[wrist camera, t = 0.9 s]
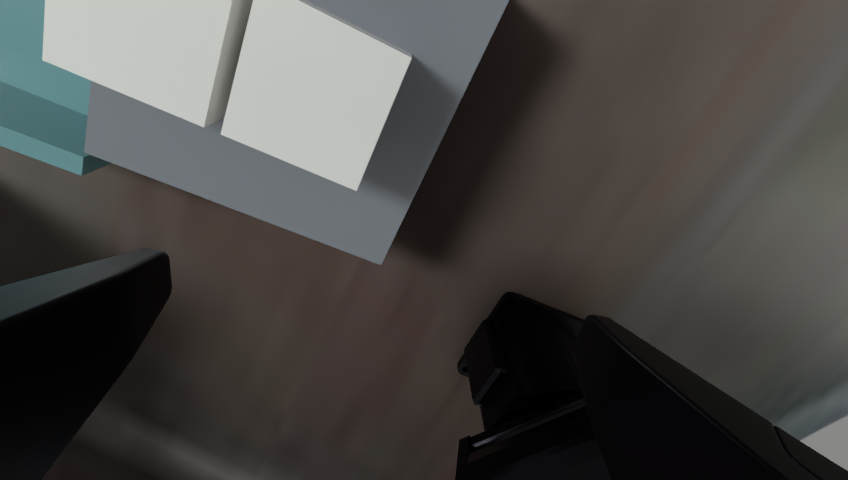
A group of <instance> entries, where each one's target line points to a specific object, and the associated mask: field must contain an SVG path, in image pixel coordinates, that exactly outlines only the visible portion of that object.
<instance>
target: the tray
mask: <svg viewBox="0 0 848 480" xmlns="http://www.w3.org/2000/svg"><path fill="white" fill-rule="evenodd" d="M44 12H45V0H0V146H2V147H5V148H8V149H10V150H13V151H16V152H18V153H21V154H24V155H27V156H29V157H32V158H35V159H37V160H40V161H43V162H46V163H48V164H51V165H54V166H56V167H59V168H62V169H65V170H67V171H70V172H73V173H75V174H78V175H81V176H82V175H85V174H87V173H89V172H92V171H94V170H96V169H99V168H101V167H103V166H106V165H108V164H110V163H111V162H108V161H105V160H103V159H100V158H97V157H95V156H92V155H90V154H87V153H84V147H85V137H86V127H87V117H88V107H89V97H90V87H91V80H88V79H86V78H84V77H81V76H79V75H76V74H74V73H72V72H69V71H67V70H64V69H62V68H60V67H57V66H55V65H52V64H50V63H48V62H45V61H43V60H42V53H43V32H44Z"/></svg>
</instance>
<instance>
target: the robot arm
mask: <svg viewBox="0 0 848 480" xmlns="http://www.w3.org/2000/svg"><path fill="white" fill-rule="evenodd" d="M171 290H172V282H171V271H170V261H169V256H168V254H167V253H166V252H164V251H160V250H153V249H147V248H146V249H139V250H135V251H132V252H128V253H124V254H120V255H116V256H113V257H109V258H105V259H101V260H98V261H94V262H90V263H86V264H82V265H79V266H75V267H71V268H67V269H64V270H60V271H56V272H52V273H48V274H45V275H41V276H37V277H33V278H30V279H26V280H22V281H18V282H14V283H11V284H7V285H3V286H0V480H41V479H42V478H43V476H44V475H45V474H46V472H47V471H48V470H49V469H50V467H51V466H52V465H53V463H54V462H55V461H56V459H57V458H58V457H59V455H60V454H61V453H62V451H63V450H64V449H65V447H66V446H67V445H68V443H69V442H70V441H71V439H72V438H73V437H74V436H75V434H76V433H77V432H78V430H79V429H80V428H81V426H82V425H83V424H84V422H85V421H86V420H87V418H88V417H89V416H90V414H91V413H92V412H93V410H94V409H95V408H96V406H97V405H98V404H99V403H100V401H101V400H102V399H103V397H104V396H105V395H106V393H107V392H108V391H109V389H110V388H111V387H112V385H113V384H114V383H115V381H116V380H117V379H118V377H119V376H120V375H121V373H122V372H123V371H124V369H125V368H126V367H127V365H128V364H129V363H130V361H131V360H132V358H133V357H134V355H135V354H136V352H137V350H138V349H139V347H140V346H141V344H142V342H143V341H144V339H145V337H146V336H147V334H148V332H149V330H150V329H151V327H152V325H153V324H154V322H155V320H156V319H157V317H158V315H159V314H160V312H161V310H162V309H163V307H164V305H165V304H166V302H167V300H168V299H169V297H170V294H171ZM508 300H513V301H512V302H511V303H507V301H508ZM464 352H465V353H464V354H463V356H462V358H461V359H460V361H459V362H458V364H457V366H458V372H459V373H460V374H461V375H464V376H467V377H469V381H470V387H471V393H472V399H473V401H474V404H475V405H478V406H480V409H481V414H482V419H483V425H484V430H485V431H484V432H482V433H479V434H477V435H475V436H472V437H470V436H467V437H465V438H462V439H460V440H459V449H458V458H457V468H456V477H455V480H848V471H847V470H845V469H843V468H842V467H840V466H839V465H837V464H835V463H834V462H832V461H830V460H829V459H827V458H826V457H824V456H823V455H821V454H819V453H818V452H816V451H815V450H813V449H811V448H810V447H808V446H807V445H805V444H804V443H802V442H800V441H799V440H797V439H796V438H794V437H793V436H791V435H790V434H788V433H786V432H785V431H783V430H782V429H780V428H779V427H777V426H773V425H772V423H771V422H769V421H768V420H766V419H765V418H763V417H762V416H760V415H758V414H757V413H755V412H754V411H752V410H751V409H749V408H748V407H746V406H745V405H743V404H741V403H740V402H738V401H737V400H735V399H734V398H732V397H731V396H729V395H727V394H726V393H724V392H723V391H721V390H720V389H718V388H717V387H715V386H714V385H712V384H710V383H709V382H707V381H706V380H704V379H703V378H701V377H700V376H698V375H697V374H695V373H693V372H692V371H690V370H689V369H687V368H686V367H684V366H683V365H681V364H680V363H678V362H676V361H675V360H673V359H672V358H670V357H669V356H667V355H666V354H664V353H662V352H661V351H659V350H658V349H656V348H655V347H653V346H652V345H650V344H649V343H647V342H645V341H644V340H642V339H641V338H639V337H638V336H636V335H635V334H633V333H632V332H630V331H628V330H627V329H625V328H624V327H622V326H621V325H619V324H618V323H616V322H614V321H613V320H611V319H610V318H608V317H605V316H598V315H589V316H587V317H586V319H585V320H582V319H579V318H577V317H574V316H572V315H569V314H567V313H564V312H562V311H559V310H557V309H554V308H552V307H549V306H546V305H544V304H541V303H539V302H536V301H534V300H531V299H529V298H526V297H524V296H521V295H519V294H516V293H513V292H507V293H505V294H504V295H503V296H502V297H501V298H500V300H499V301H498V303H497V305H496V306H495V308H494V309H493V311H492V312H491V314H490V315H489V317H488V318H487V319H485V320H483V321H482V323H481V324H480V326H479V328H478V329H477V331H476V332H475V334H474V335H473V337H472V338H471V340H470V341H469V343H468V344H467V346H466V347H465V349H464ZM466 366H467V368H463V367H466Z"/></svg>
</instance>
